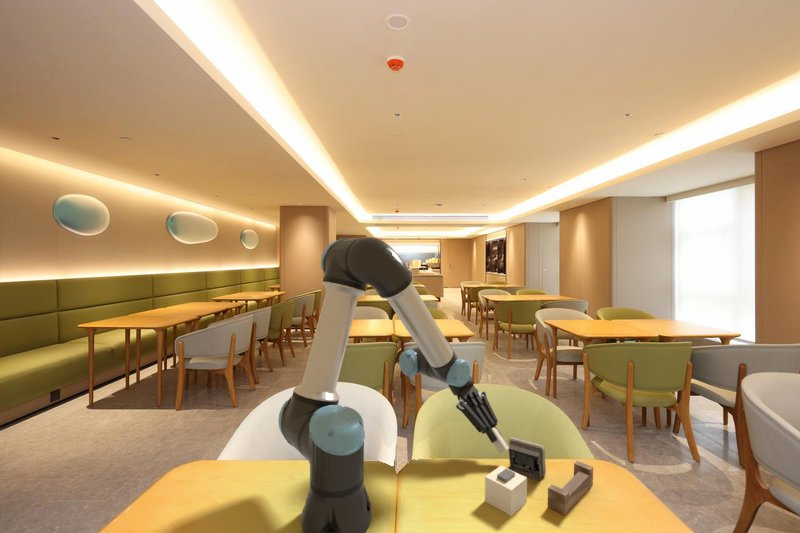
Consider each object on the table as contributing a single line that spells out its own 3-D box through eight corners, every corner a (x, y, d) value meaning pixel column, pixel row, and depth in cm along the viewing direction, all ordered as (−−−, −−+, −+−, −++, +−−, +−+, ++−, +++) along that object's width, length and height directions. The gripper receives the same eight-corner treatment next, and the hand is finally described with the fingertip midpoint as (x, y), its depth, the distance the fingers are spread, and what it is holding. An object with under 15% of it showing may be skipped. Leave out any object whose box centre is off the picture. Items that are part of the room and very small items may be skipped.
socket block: (484, 501, 88) (485, 473, 88) (500, 489, 93) (501, 462, 92) (511, 516, 83) (511, 486, 83) (526, 502, 87) (527, 474, 87)
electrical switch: (546, 475, 99) (546, 442, 98) (542, 486, 94) (541, 452, 93) (511, 464, 104) (510, 433, 103) (505, 475, 99) (505, 442, 98)
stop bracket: (547, 506, 86) (548, 487, 86) (576, 477, 97) (577, 460, 97) (565, 515, 83) (565, 495, 83) (592, 484, 95) (593, 466, 94)
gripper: (451, 376, 109) (500, 454, 97) (476, 367, 118) (524, 437, 106) (437, 389, 113) (483, 465, 101) (463, 380, 122) (507, 448, 110)
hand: (504, 451), depth 104 cm, fingers closed
